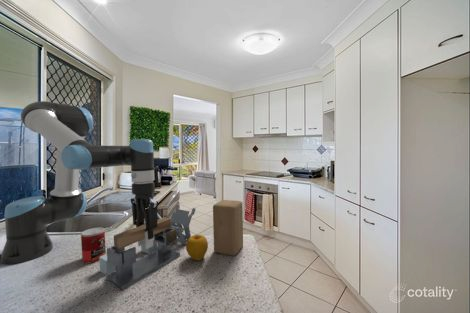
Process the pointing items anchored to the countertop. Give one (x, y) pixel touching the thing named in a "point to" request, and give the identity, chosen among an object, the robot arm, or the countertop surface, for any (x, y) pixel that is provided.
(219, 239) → the wooden block
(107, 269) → the rest block
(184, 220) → the bracket
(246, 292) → the countertop surface
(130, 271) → the bracket
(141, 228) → the rail
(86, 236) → the canned food
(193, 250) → the apple
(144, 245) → the rest block
